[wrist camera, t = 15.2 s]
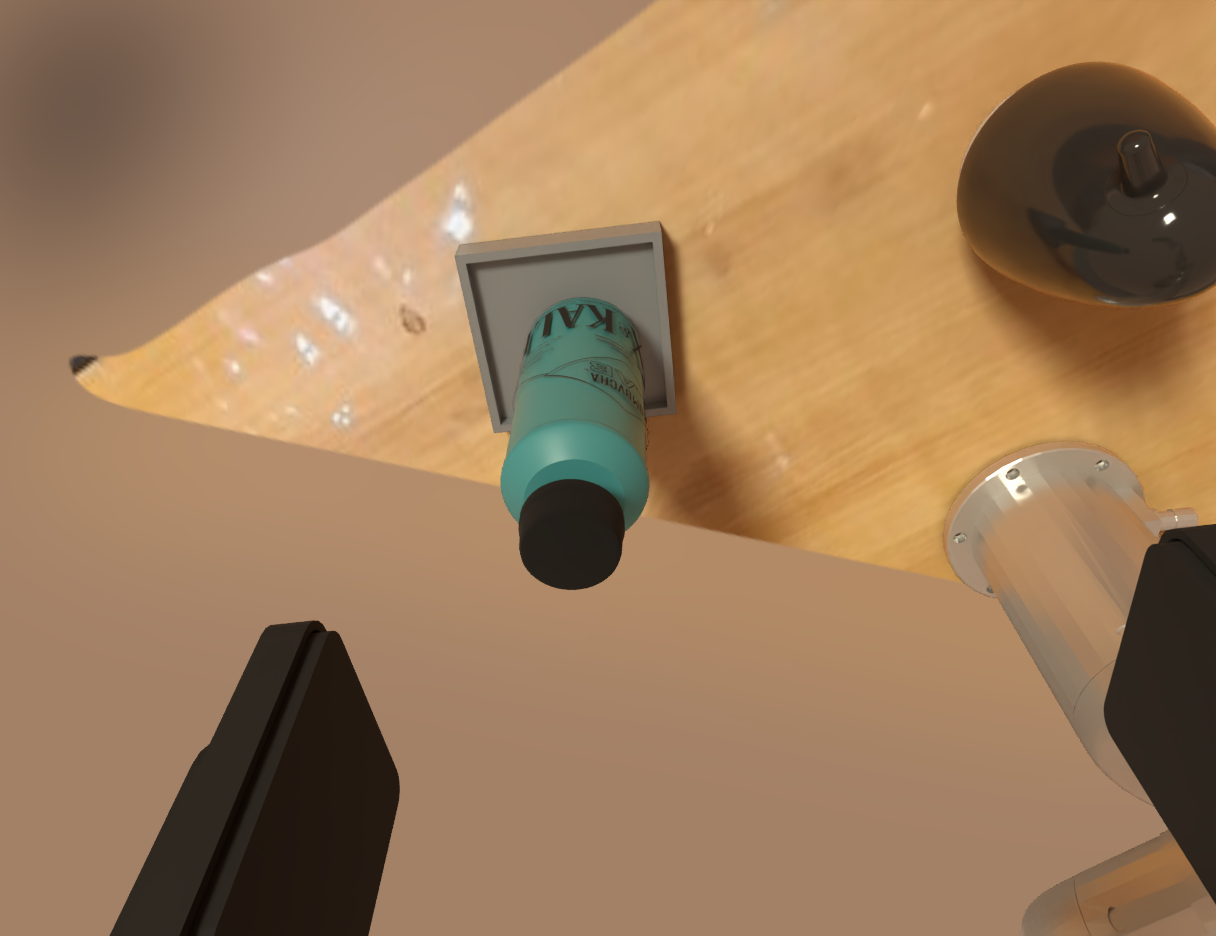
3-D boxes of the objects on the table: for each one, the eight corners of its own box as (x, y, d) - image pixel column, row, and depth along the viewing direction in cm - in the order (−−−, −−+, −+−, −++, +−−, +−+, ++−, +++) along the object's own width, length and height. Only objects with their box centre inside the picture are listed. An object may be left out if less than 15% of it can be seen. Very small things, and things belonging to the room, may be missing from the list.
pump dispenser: (1080, -3, 40) (1304, 33, 27) (1166, 167, 44) (1394, 267, 32) (893, 147, 44) (1013, 240, 31) (989, 290, 48) (1129, 424, 35)
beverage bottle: (612, 402, 51) (615, 642, 34) (508, 359, 49) (458, 589, 32) (661, 309, 47) (693, 524, 31) (552, 260, 46) (522, 458, 29)
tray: (659, 221, 46) (661, 231, 44) (674, 399, 52) (676, 413, 50) (459, 244, 46) (454, 255, 45) (497, 418, 52) (493, 433, 51)
